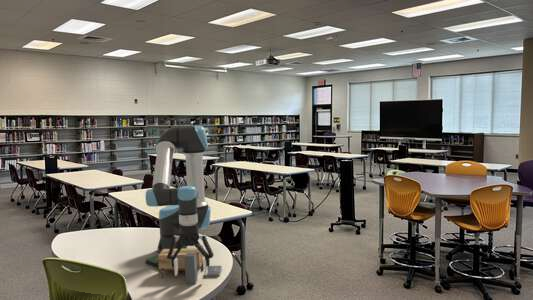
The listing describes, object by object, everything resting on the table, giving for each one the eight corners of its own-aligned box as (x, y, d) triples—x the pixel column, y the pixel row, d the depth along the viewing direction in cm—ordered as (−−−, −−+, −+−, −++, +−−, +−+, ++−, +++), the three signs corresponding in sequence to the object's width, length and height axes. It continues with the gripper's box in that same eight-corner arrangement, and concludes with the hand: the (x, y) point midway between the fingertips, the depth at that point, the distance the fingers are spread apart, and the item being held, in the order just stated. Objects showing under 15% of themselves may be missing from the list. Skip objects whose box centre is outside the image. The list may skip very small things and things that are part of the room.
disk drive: (181, 265, 185) (163, 258, 195) (181, 259, 184) (163, 252, 194) (162, 272, 177) (144, 264, 187) (162, 266, 177) (144, 258, 187)
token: (208, 271, 175) (208, 265, 175) (221, 271, 175) (221, 265, 174) (205, 277, 169) (205, 271, 169) (219, 277, 169) (219, 270, 168)
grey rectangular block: (193, 271, 174) (191, 245, 173) (201, 271, 174) (200, 245, 173) (185, 284, 162) (184, 256, 161) (195, 284, 161) (194, 256, 160)
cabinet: (164, 270, 177) (163, 246, 176) (203, 269, 177) (202, 245, 176) (159, 277, 169) (157, 252, 168) (200, 276, 169) (199, 251, 168)
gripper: (157, 226, 158) (160, 278, 160) (216, 225, 157) (218, 277, 159) (162, 221, 165) (165, 271, 167) (219, 220, 164) (221, 270, 166)
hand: (191, 274), depth 163 cm, fingers open, 12 cm apart
